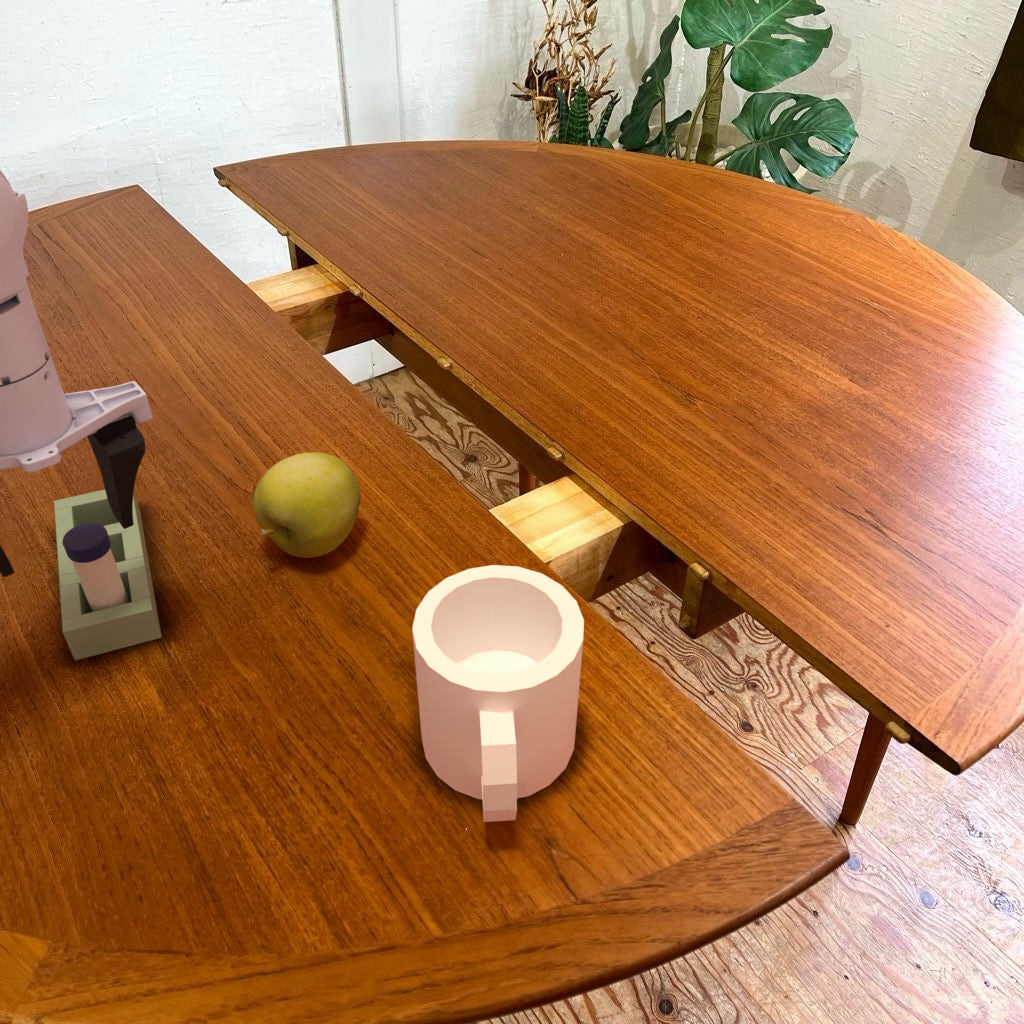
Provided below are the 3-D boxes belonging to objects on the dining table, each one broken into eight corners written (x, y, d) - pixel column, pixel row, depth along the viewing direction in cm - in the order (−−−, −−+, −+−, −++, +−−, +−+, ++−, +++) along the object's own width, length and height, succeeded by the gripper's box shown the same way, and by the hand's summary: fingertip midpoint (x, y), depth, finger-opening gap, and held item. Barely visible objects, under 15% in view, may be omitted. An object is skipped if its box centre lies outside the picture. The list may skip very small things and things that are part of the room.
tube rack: (161, 637, 70) (152, 609, 68) (74, 661, 68) (62, 632, 66) (140, 511, 81) (131, 483, 79) (64, 528, 79) (53, 500, 77)
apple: (238, 563, 76) (219, 484, 71) (305, 498, 82) (292, 421, 77) (320, 594, 74) (306, 515, 68) (383, 524, 80) (375, 447, 75)
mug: (592, 844, 58) (604, 736, 51) (422, 855, 57) (411, 747, 50) (565, 670, 68) (573, 561, 61) (421, 678, 67) (412, 568, 60)
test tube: (103, 640, 70) (70, 556, 64) (89, 617, 72) (56, 533, 66) (142, 623, 71) (112, 538, 66) (127, 600, 73) (98, 516, 67)
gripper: (-133, 441, 48) (-36, 627, 57) (148, 352, 55) (196, 530, 64) (-160, 380, 52) (-66, 562, 61) (104, 304, 59) (155, 478, 68)
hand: (65, 542), depth 63 cm, fingers open, 7 cm apart
